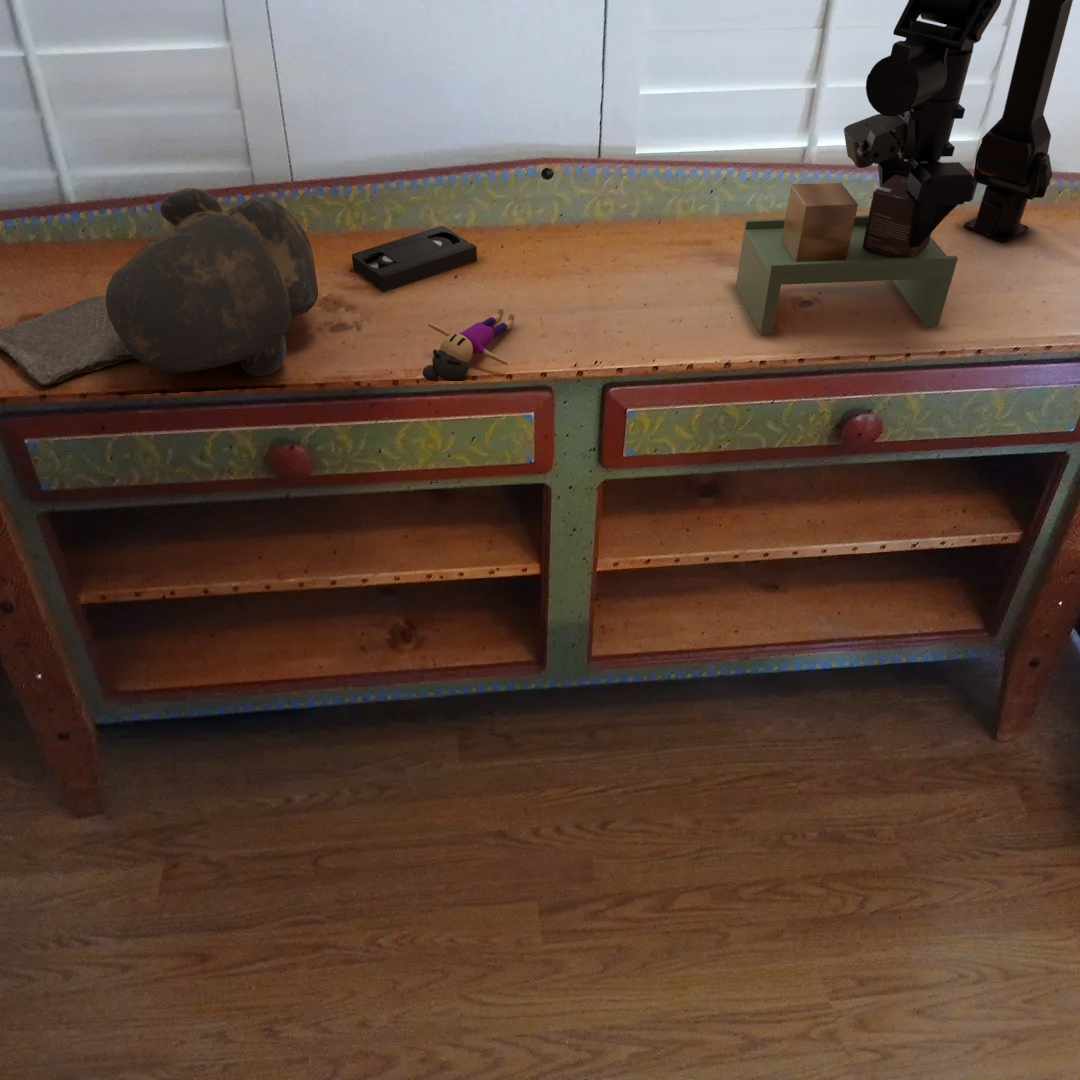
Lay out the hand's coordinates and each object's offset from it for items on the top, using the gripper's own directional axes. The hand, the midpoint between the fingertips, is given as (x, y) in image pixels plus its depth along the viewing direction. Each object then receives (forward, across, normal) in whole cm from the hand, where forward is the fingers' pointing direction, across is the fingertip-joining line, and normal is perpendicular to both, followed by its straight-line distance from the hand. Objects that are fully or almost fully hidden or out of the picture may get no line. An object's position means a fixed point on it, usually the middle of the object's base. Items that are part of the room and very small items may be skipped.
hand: (899, 229), depth 125 cm
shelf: (+10, -1, -6) cm, 12 cm away
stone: (+9, -4, -90) cm, 90 cm away
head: (-1, -3, -67) cm, 67 cm away
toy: (+10, 0, -46) cm, 48 cm away
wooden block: (+2, 0, -10) cm, 10 cm away
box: (+3, 0, 0) cm, 3 cm away
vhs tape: (+11, -17, -57) cm, 60 cm away
